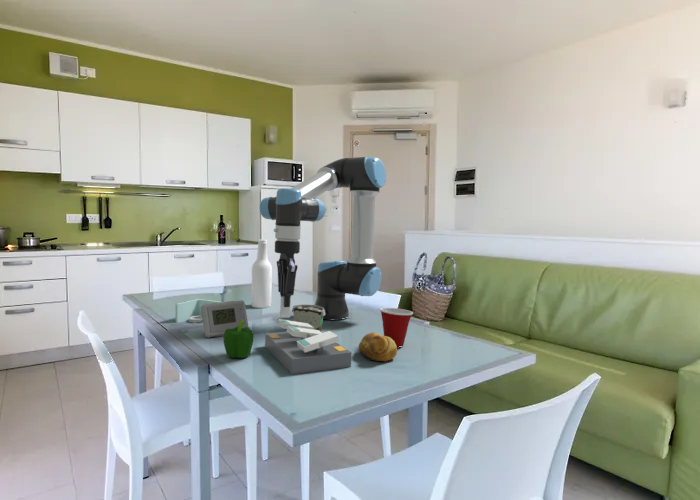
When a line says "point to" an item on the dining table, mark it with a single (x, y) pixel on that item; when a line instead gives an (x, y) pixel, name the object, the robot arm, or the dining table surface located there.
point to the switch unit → (306, 354)
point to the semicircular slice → (309, 315)
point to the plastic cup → (395, 324)
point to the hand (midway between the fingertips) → (285, 316)
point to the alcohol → (261, 278)
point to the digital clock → (223, 317)
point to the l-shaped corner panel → (191, 310)
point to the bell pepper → (238, 341)
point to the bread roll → (378, 347)
